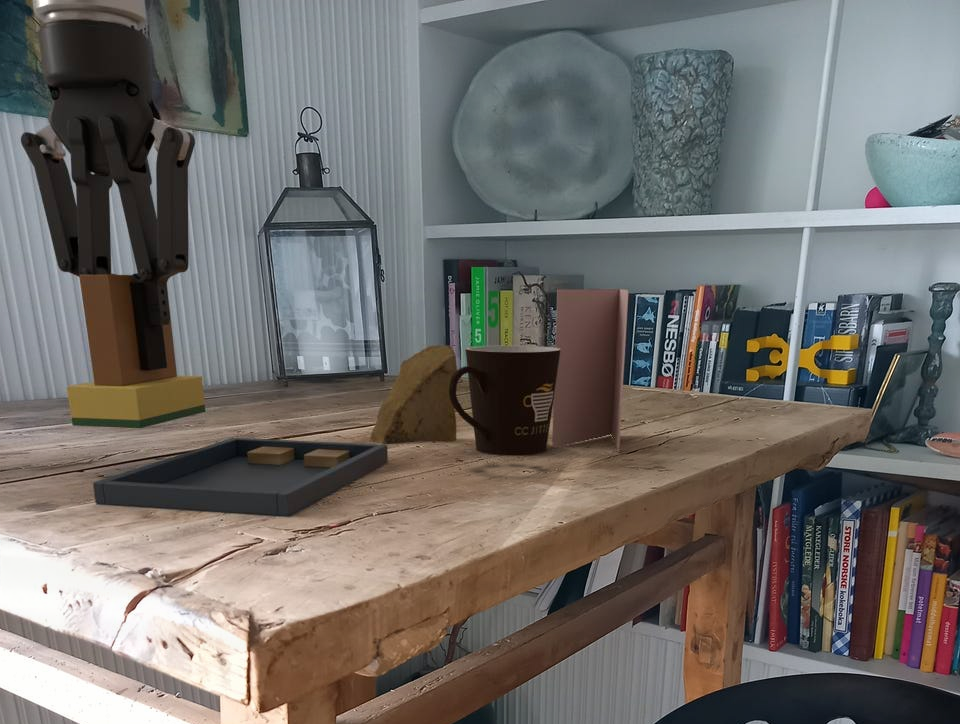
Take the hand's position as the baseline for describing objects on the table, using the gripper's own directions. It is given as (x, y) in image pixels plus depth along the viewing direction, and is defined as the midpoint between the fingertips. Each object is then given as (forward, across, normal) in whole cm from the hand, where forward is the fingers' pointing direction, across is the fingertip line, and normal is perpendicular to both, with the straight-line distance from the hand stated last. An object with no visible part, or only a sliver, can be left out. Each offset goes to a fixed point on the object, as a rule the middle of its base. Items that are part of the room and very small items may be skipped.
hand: (136, 367), depth 75 cm
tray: (+9, -11, +3) cm, 15 cm away
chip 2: (+8, -14, -5) cm, 17 cm away
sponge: (+4, 0, 0) cm, 4 cm away
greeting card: (+9, -35, -28) cm, 46 cm away
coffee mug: (+9, -26, -16) cm, 32 cm away
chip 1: (+8, -9, -5) cm, 13 cm away
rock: (+9, -16, -22) cm, 29 cm away
